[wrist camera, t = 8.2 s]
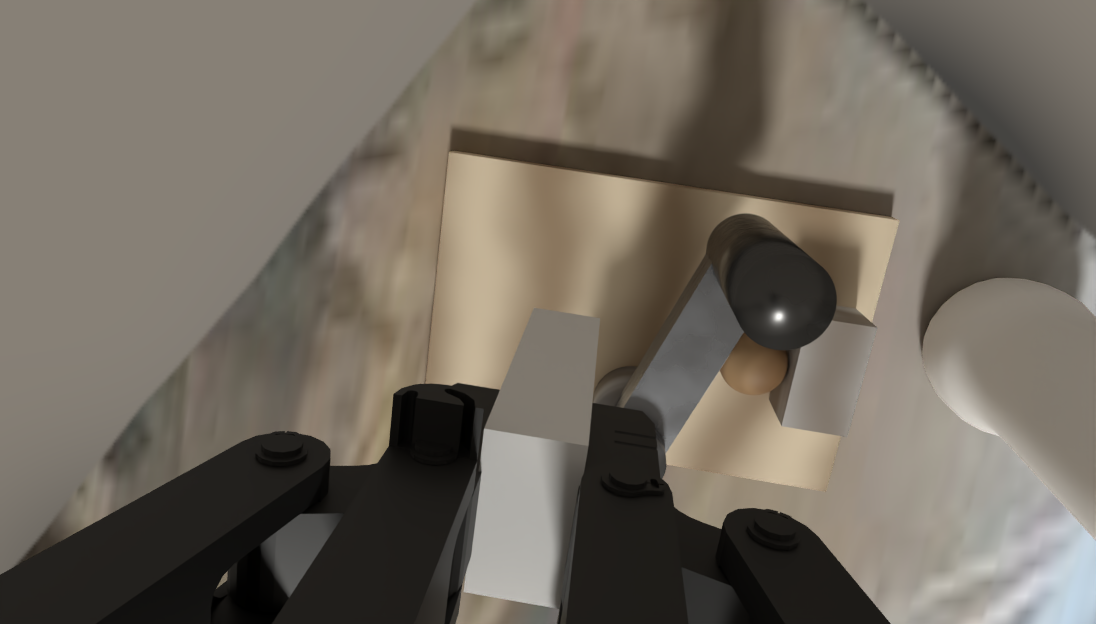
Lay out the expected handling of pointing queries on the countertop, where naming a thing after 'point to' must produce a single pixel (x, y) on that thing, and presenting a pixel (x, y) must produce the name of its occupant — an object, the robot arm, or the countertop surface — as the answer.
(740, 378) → the brown ball
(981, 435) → the countertop surface
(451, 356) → the board
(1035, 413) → the bottle
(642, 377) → the lever
